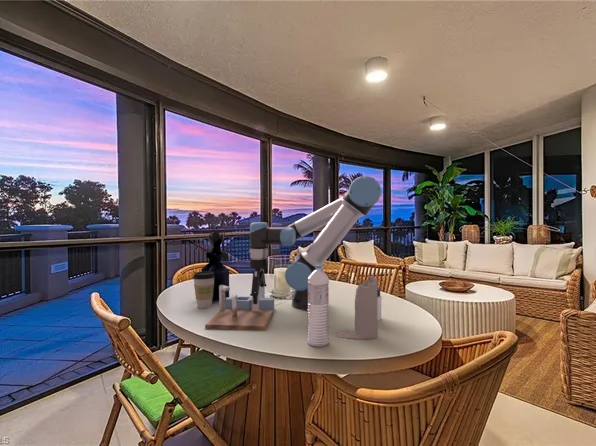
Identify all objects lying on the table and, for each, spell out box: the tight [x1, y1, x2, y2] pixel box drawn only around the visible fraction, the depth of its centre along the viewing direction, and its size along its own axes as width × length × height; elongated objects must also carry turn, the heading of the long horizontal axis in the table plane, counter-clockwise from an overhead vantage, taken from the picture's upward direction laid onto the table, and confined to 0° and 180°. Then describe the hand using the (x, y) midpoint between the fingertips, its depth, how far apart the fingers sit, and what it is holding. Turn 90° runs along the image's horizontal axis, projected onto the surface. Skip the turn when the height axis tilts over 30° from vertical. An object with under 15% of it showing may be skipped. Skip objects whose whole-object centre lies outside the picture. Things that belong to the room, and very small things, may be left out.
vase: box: [201, 227, 230, 303], centre depth 158 cm, size 14×12×35 cm
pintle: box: [231, 294, 238, 317], centre depth 126 cm, size 2×2×10 cm
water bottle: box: [307, 265, 330, 348], centre depth 102 cm, size 7×7×25 cm
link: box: [225, 295, 275, 312], centre depth 139 cm, size 21×7×5 cm, turn 86°
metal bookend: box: [336, 275, 378, 340], centre depth 109 cm, size 7×14×20 cm, turn 88°
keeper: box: [218, 285, 231, 312], centre depth 132 cm, size 6×2×12 cm, turn 41°
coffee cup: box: [192, 271, 215, 309], centre depth 145 cm, size 10×10×15 cm
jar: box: [377, 287, 382, 322], centre depth 127 cm, size 9×8×12 cm
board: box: [204, 309, 274, 331], centre depth 125 cm, size 22×19×2 cm
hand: (258, 307), depth 139 cm, fingers open, 14 cm apart
